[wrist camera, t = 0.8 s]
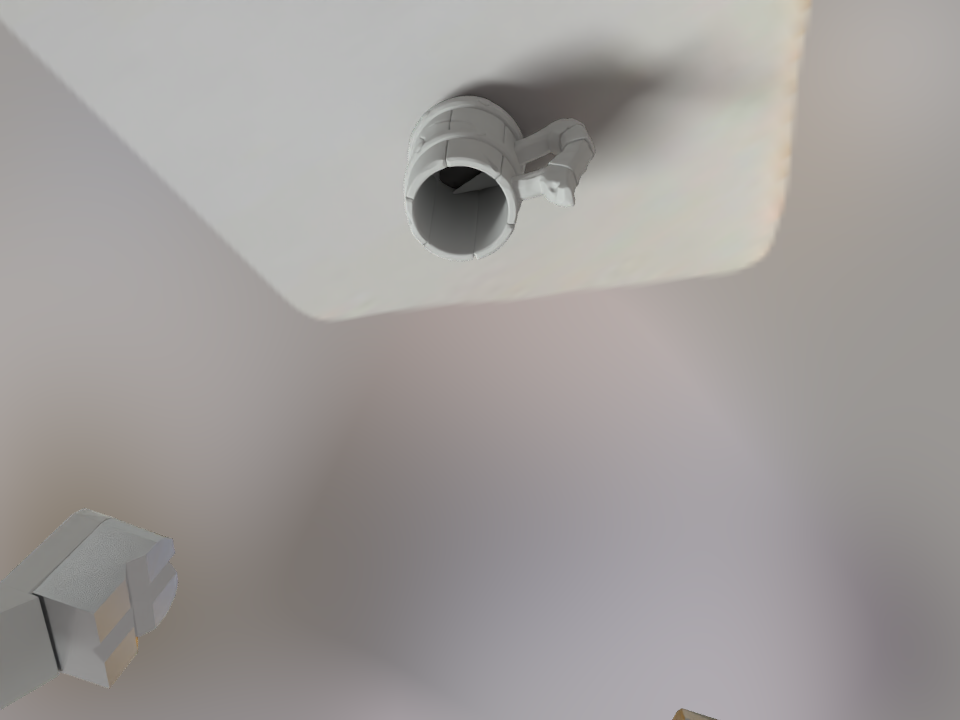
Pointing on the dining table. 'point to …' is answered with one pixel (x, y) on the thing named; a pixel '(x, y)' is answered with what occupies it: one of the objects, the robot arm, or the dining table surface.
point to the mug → (485, 174)
